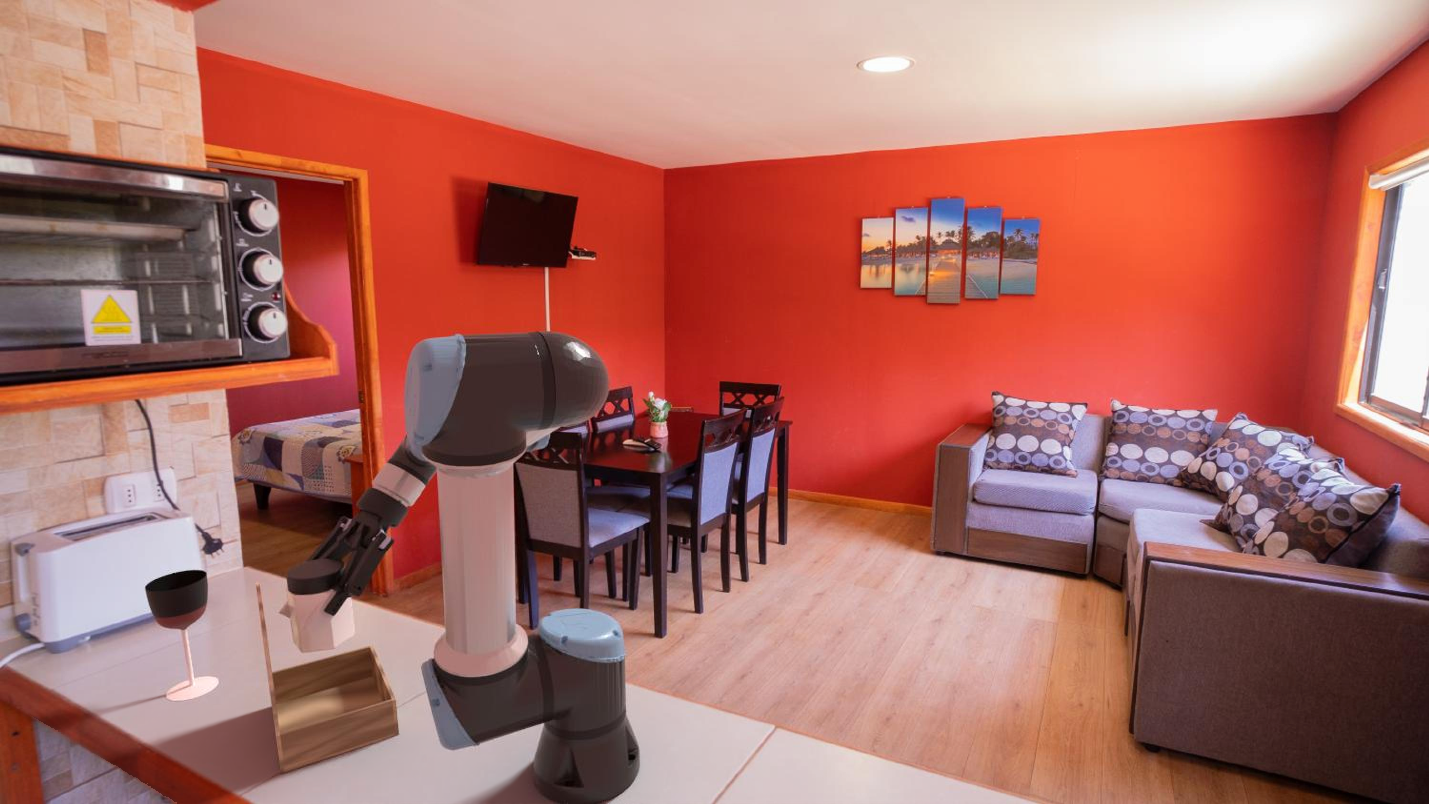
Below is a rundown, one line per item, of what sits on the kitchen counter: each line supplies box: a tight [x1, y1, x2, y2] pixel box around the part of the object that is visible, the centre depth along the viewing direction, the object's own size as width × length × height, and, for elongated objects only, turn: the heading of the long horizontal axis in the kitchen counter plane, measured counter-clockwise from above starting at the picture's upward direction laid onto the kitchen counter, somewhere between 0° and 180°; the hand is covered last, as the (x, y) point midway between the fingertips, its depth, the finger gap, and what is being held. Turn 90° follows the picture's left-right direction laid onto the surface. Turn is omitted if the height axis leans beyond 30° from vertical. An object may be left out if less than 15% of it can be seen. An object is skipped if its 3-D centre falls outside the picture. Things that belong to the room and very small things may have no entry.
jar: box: [285, 558, 356, 654], centre depth 115 cm, size 9×8×12 cm
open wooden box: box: [255, 581, 400, 775], centre depth 116 cm, size 20×16×22 cm
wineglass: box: [144, 569, 220, 702], centre depth 126 cm, size 8×9×20 cm
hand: (298, 624), depth 112 cm, fingers closed on jar, 8 cm apart
